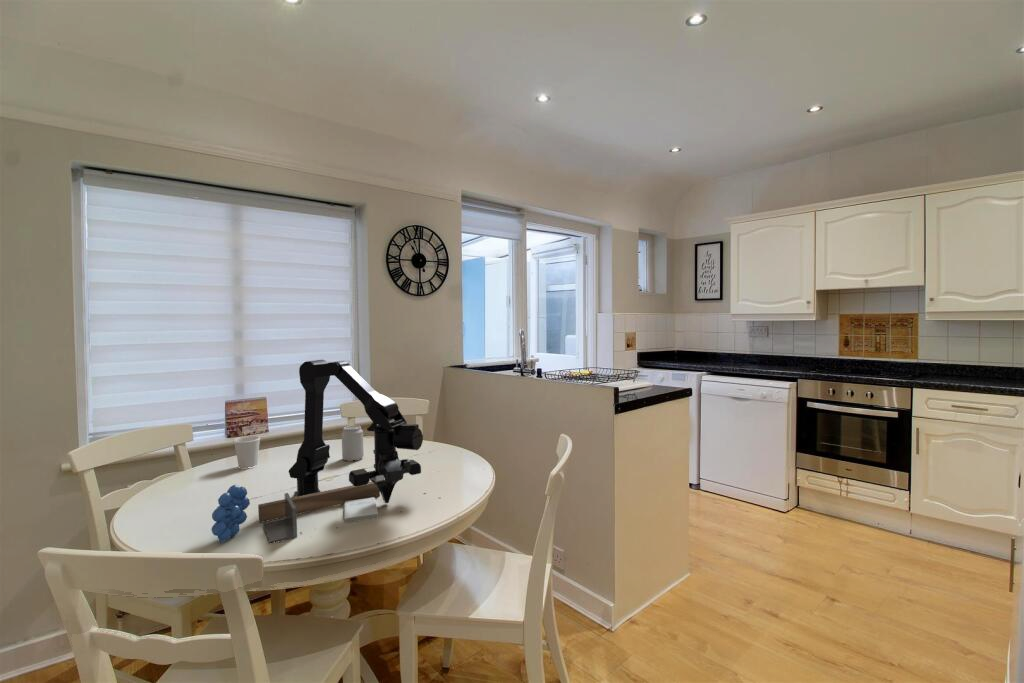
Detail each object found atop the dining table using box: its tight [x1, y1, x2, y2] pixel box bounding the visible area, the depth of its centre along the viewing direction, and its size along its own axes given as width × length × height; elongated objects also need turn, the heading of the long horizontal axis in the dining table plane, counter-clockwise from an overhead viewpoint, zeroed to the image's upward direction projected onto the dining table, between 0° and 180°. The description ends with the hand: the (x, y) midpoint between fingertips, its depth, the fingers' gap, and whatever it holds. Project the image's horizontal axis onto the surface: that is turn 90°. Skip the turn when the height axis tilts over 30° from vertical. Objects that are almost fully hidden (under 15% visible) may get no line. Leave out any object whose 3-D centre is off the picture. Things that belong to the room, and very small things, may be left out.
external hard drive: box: [344, 497, 379, 524], centre depth 126 cm, size 2×8×12 cm
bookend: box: [262, 492, 298, 544], centre depth 114 cm, size 12×6×7 cm, turn 34°
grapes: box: [211, 484, 251, 543], centre depth 112 cm, size 12×7×12 cm, turn 175°
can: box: [341, 425, 365, 462], centre depth 174 cm, size 8×8×12 cm
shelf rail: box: [257, 481, 381, 523], centre depth 129 cm, size 2×31×4 cm, turn 124°
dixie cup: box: [233, 435, 261, 468], centre depth 166 cm, size 8×8×10 cm
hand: (386, 502), depth 130 cm, fingers closed
